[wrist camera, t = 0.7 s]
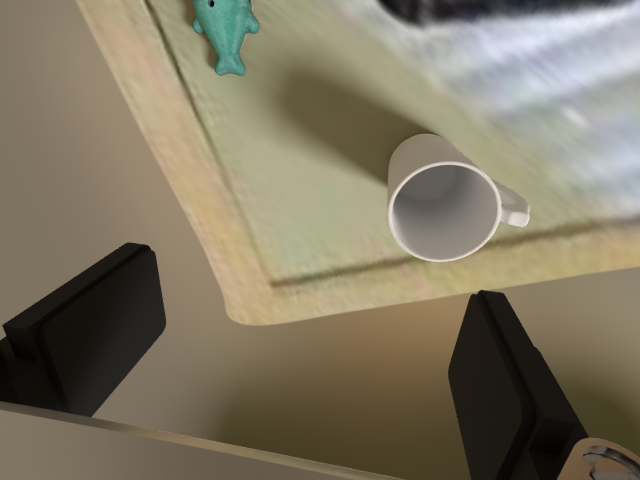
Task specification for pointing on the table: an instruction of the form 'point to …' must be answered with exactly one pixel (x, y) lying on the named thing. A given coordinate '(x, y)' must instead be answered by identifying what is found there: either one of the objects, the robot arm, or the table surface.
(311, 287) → the table surface
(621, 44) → the table surface
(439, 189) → the mug
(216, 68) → the whale figurine
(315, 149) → the table surface
